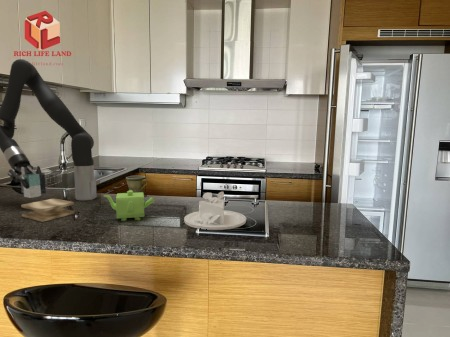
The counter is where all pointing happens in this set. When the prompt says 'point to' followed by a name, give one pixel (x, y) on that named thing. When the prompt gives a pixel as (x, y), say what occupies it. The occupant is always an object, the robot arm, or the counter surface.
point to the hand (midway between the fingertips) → (34, 186)
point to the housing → (32, 186)
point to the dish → (214, 215)
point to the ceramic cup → (136, 183)
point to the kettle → (129, 205)
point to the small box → (40, 186)
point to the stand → (47, 209)
